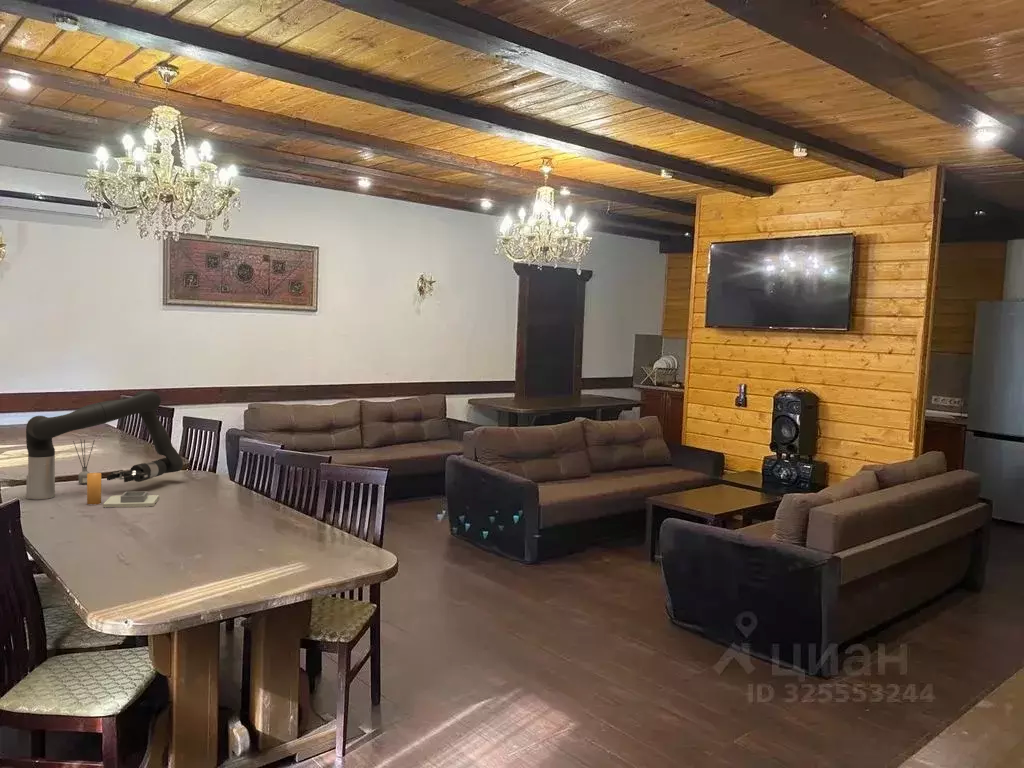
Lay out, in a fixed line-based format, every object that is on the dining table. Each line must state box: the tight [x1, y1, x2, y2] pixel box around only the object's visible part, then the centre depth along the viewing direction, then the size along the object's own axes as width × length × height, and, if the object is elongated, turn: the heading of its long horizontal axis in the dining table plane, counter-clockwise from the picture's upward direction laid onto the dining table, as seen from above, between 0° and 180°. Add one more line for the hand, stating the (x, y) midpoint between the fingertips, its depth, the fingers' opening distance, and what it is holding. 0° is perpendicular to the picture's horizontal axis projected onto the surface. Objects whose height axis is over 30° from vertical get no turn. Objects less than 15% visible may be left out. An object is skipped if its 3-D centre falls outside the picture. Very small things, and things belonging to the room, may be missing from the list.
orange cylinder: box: [86, 472, 102, 505], centre depth 301 cm, size 5×5×12 cm
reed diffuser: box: [72, 439, 95, 484], centre depth 334 cm, size 10×7×20 cm
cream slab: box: [102, 490, 160, 509], centre depth 304 cm, size 18×14×4 cm
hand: (116, 478), depth 312 cm, fingers open, 8 cm apart
